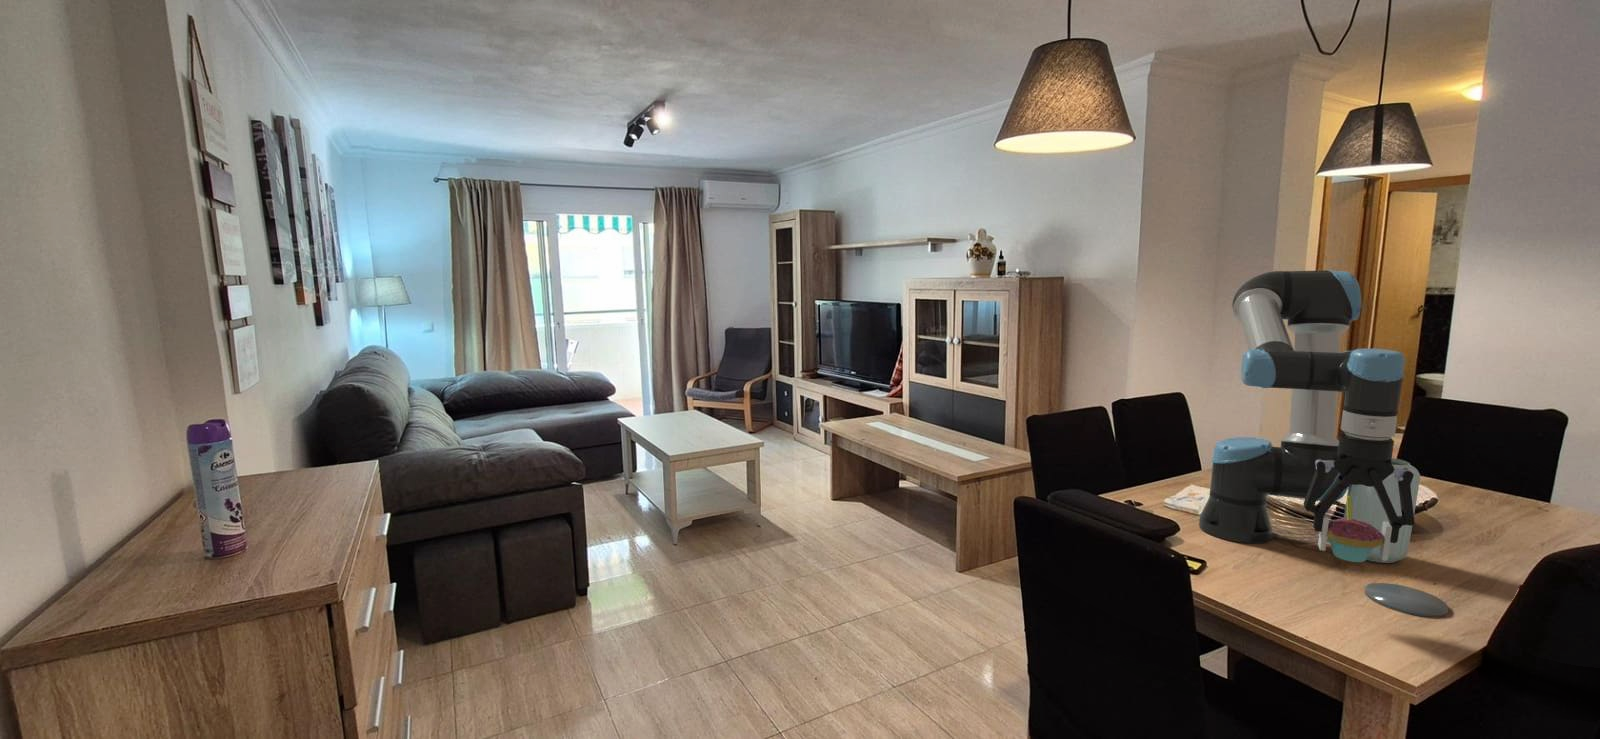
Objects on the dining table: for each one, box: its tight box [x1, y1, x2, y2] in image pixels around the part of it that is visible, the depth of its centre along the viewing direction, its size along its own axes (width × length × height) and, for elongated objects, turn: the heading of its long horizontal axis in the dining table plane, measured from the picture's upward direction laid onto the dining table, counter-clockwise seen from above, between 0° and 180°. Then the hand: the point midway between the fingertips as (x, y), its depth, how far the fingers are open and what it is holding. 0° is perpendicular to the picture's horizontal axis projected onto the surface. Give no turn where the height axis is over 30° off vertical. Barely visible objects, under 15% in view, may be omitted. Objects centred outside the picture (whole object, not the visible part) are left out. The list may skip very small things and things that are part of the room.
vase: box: [1343, 457, 1421, 564], centre depth 148 cm, size 12×12×22 cm
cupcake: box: [1326, 491, 1384, 563], centre depth 123 cm, size 9×8×12 cm
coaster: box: [1364, 582, 1449, 618], centre depth 130 cm, size 12×12×1 cm
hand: (1351, 552), depth 124 cm, fingers closed on cupcake, 8 cm apart
